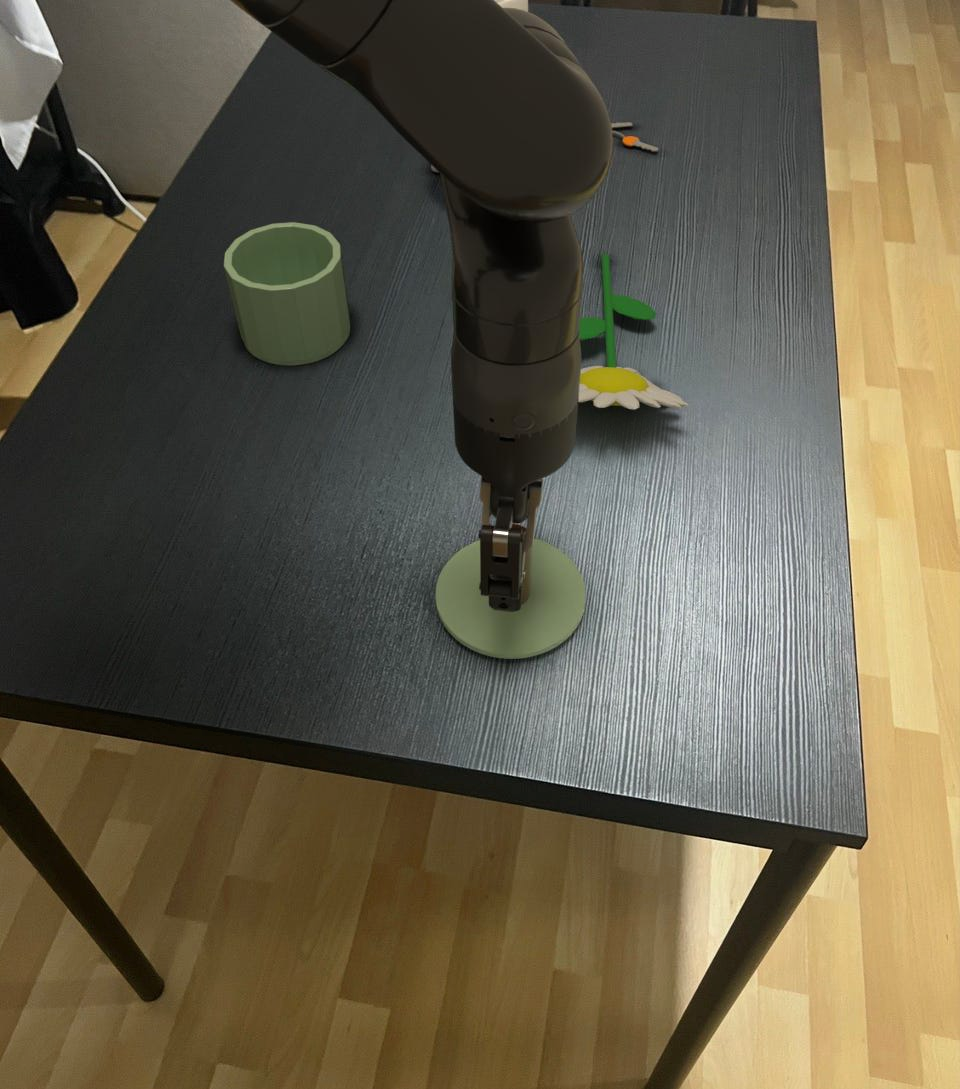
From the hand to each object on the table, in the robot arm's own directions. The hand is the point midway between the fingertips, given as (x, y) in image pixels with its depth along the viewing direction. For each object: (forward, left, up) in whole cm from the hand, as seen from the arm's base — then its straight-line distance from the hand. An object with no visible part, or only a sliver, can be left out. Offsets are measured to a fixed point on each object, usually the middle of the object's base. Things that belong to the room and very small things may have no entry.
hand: (513, 558), depth 71 cm
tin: (+13, +36, -5) cm, 39 cm away
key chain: (+61, +33, -5) cm, 69 cm away
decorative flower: (+29, +11, -5) cm, 31 cm away
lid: (0, 0, -4) cm, 4 cm away
